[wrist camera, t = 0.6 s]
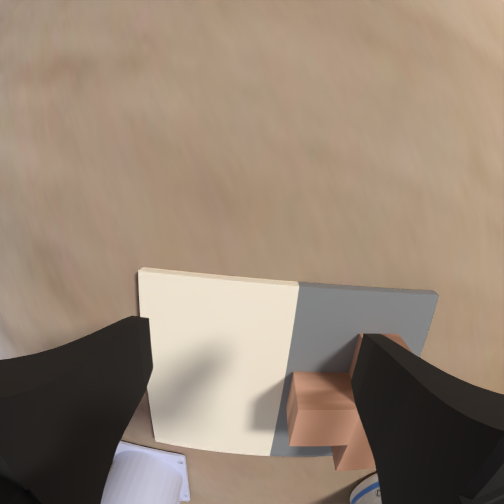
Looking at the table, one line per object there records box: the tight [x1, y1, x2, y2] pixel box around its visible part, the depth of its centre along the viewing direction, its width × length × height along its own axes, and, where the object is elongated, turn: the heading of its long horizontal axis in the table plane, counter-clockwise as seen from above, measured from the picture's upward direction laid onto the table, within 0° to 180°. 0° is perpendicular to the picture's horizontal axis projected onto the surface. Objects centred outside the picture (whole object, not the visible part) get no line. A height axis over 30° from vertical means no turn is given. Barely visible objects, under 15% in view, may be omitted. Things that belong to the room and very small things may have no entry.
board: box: [138, 267, 439, 457], centre depth 21 cm, size 16×20×1 cm
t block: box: [286, 333, 412, 471], centre depth 19 cm, size 7×10×4 cm
